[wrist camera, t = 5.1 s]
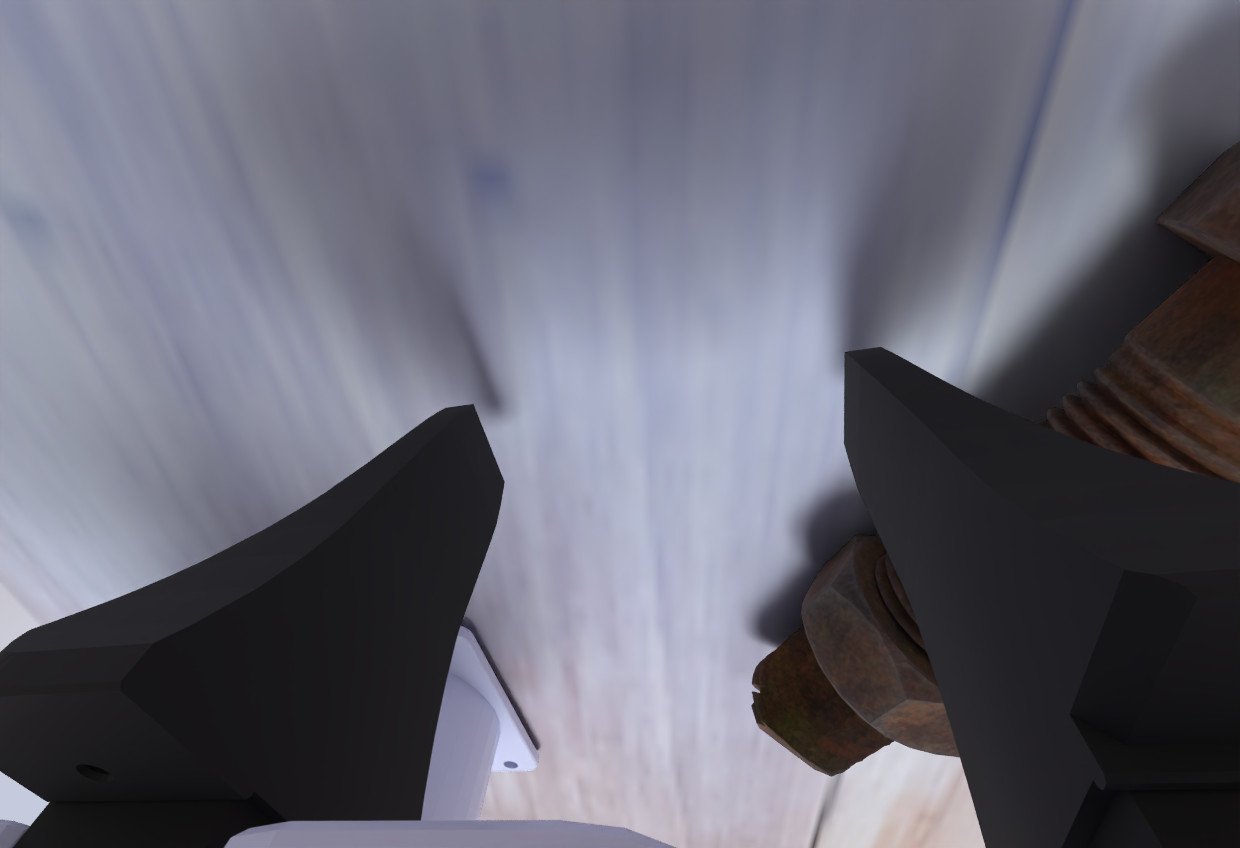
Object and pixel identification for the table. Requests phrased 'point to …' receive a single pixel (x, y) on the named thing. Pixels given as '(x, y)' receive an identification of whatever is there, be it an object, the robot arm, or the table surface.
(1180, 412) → the bolt
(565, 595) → the table surface
